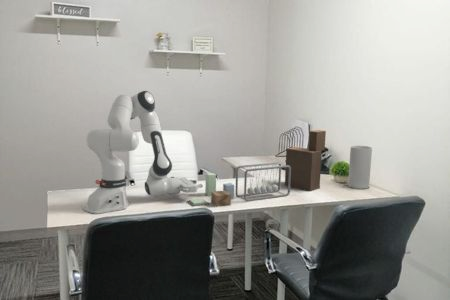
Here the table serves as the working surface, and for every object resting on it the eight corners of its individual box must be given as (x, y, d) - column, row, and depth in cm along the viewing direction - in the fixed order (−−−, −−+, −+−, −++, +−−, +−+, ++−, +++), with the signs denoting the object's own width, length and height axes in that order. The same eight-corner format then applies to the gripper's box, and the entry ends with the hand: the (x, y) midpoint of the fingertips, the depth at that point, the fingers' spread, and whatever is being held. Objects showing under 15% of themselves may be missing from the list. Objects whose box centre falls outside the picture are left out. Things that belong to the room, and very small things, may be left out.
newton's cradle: (244, 202, 223) (245, 169, 220) (235, 197, 232) (235, 165, 229) (290, 195, 237) (291, 165, 234) (279, 191, 246) (280, 161, 243)
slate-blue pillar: (226, 200, 226) (226, 185, 225) (223, 197, 230) (223, 183, 229) (233, 199, 228) (234, 185, 226) (230, 197, 232) (230, 183, 231)
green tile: (192, 206, 214) (192, 204, 213) (187, 201, 222) (187, 199, 222) (209, 204, 217) (209, 202, 217) (202, 199, 225) (203, 197, 225)
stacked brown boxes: (323, 187, 257) (326, 130, 251) (310, 191, 247) (313, 132, 241) (297, 181, 270) (300, 127, 264) (284, 185, 260) (286, 129, 254)
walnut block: (216, 207, 214) (216, 195, 213) (211, 202, 221) (211, 191, 220) (230, 205, 217) (231, 194, 216) (225, 201, 224) (225, 190, 223)
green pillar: (208, 196, 233) (208, 175, 231) (205, 194, 237) (205, 173, 235) (215, 195, 235) (216, 174, 233) (212, 193, 239) (213, 172, 237)
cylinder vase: (343, 185, 263) (346, 146, 259) (358, 183, 268) (361, 145, 264) (358, 190, 252) (361, 149, 248) (373, 188, 258) (376, 148, 253)
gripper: (181, 184, 216) (206, 182, 222) (169, 176, 235) (192, 174, 240) (181, 196, 217) (205, 193, 223) (169, 187, 236) (192, 184, 241)
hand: (199, 183), depth 232 cm, fingers open, 8 cm apart
